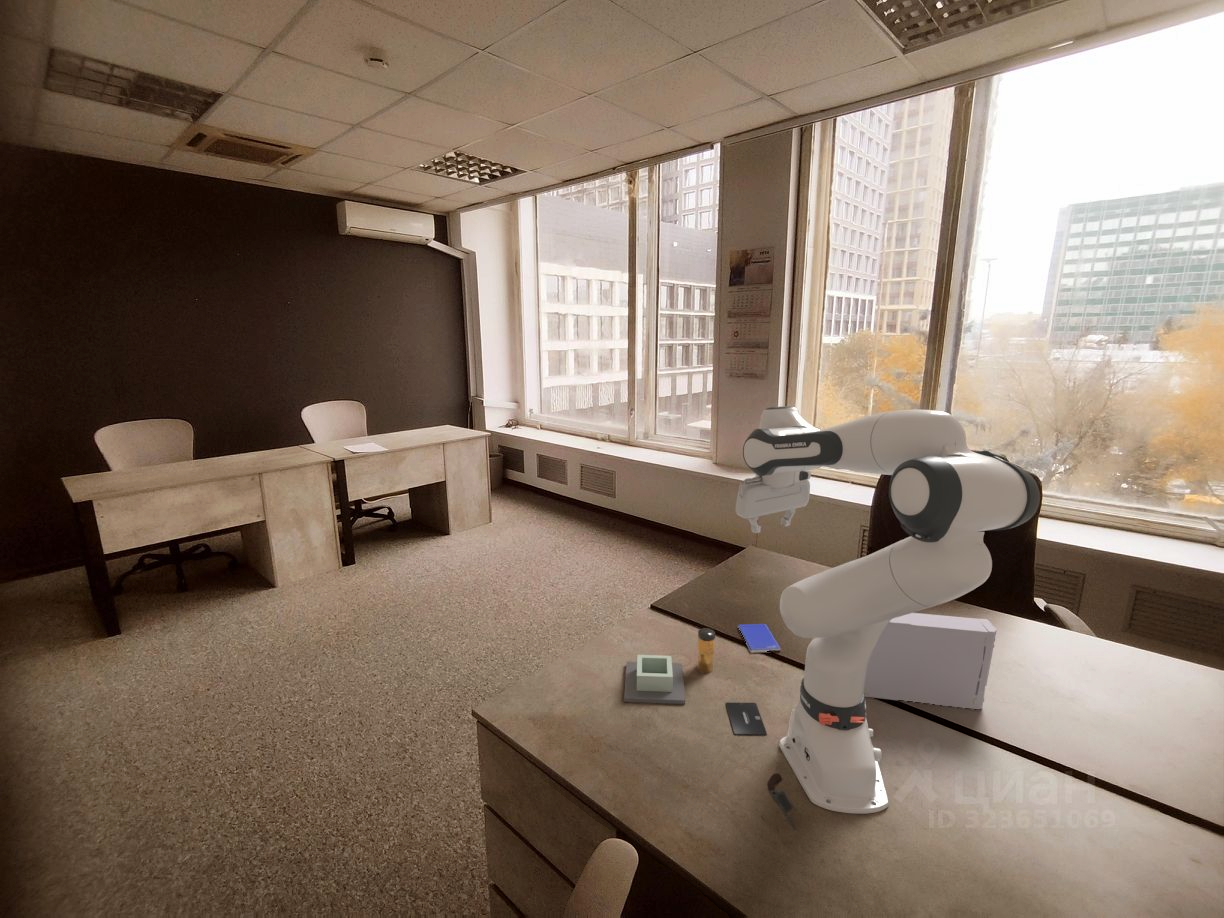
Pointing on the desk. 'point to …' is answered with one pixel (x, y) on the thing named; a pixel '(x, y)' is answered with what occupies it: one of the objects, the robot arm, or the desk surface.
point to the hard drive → (758, 638)
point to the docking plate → (654, 680)
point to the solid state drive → (745, 719)
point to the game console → (932, 660)
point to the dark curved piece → (780, 796)
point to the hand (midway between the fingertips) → (770, 528)
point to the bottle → (705, 650)
